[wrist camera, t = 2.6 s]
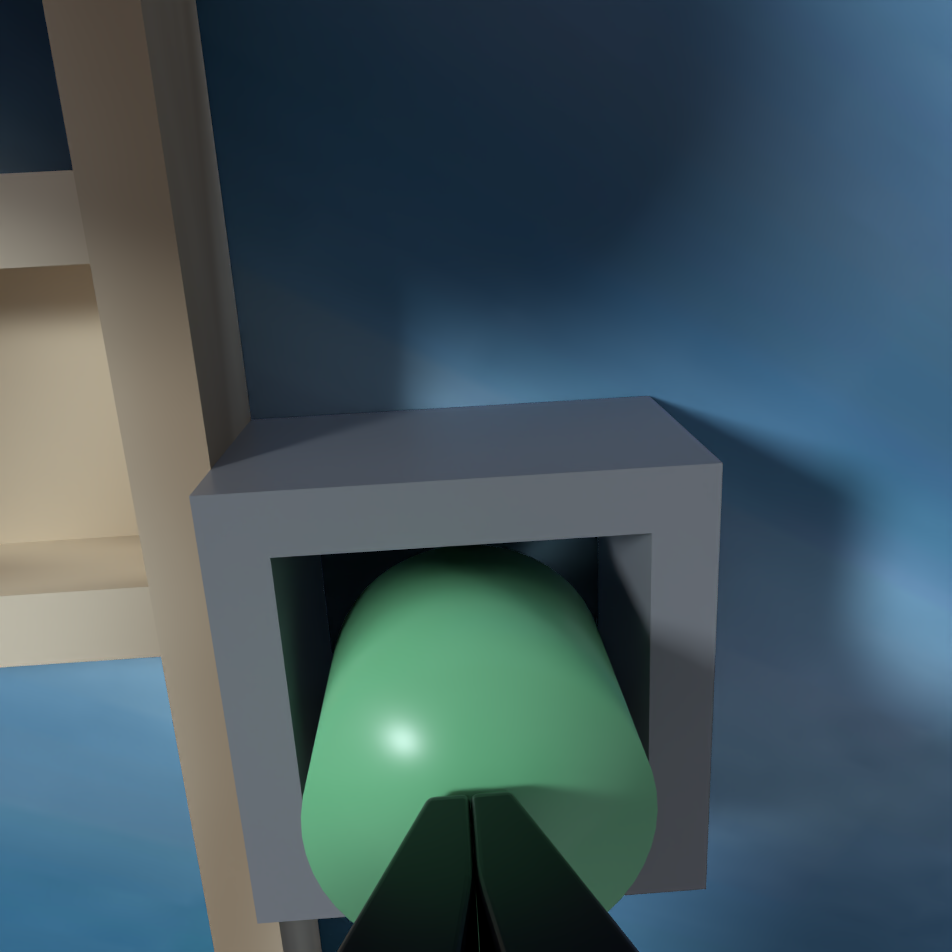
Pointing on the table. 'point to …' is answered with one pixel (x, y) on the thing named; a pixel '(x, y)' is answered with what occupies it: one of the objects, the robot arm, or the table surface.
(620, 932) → the robot arm
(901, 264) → the table surface
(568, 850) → the button
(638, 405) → the grey square box
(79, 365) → the birch frame
